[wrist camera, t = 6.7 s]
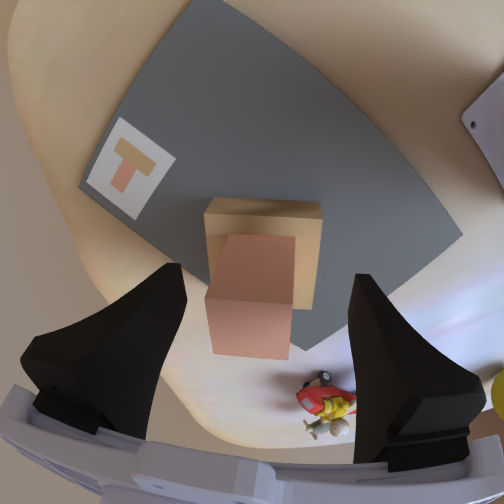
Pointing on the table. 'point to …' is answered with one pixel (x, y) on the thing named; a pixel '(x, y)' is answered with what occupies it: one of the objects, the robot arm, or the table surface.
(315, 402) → the toy airplane
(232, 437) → the table surface
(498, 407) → the lemon
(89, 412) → the robot arm
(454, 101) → the table surface
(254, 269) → the pillar
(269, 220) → the slab
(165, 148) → the board
